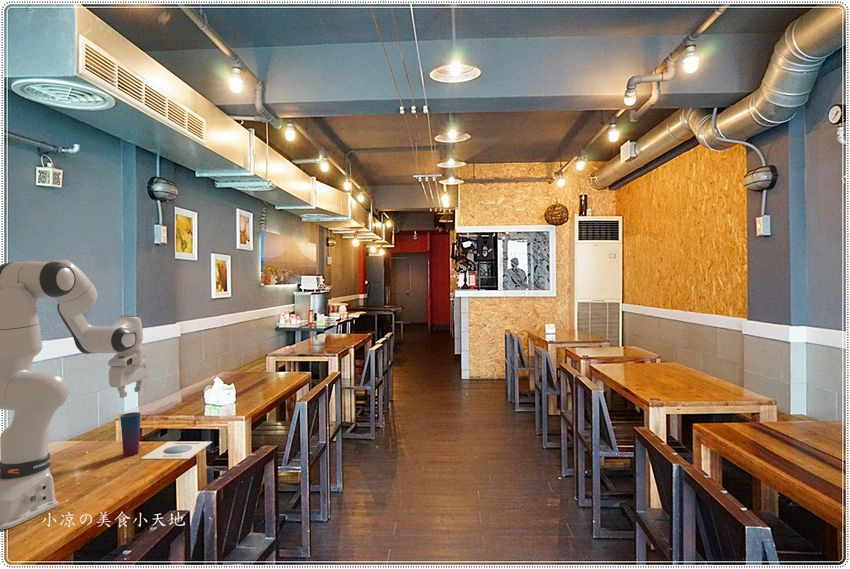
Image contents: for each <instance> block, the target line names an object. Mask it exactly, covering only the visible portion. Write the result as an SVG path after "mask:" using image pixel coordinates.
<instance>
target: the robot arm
mask: <svg viewBox="0 0 850 569" xmlns="http://www.w3.org/2000/svg"><path fill="white" fill-rule="evenodd" d="M46 298H47V299H48V298H54V299H55V301H56V302H57V305H56V309H57V313H58V315H59V317H60V318H61V319H62V321H63V324H65V326H66V328H67V330H68V331H69V333H70V334H71V336H72V338H73V341H74V344H75V346H76V348H77V350H79V352H80V353H82V354H85V355H91V354H115V355H114V356H113V357H112V358H110V359H109V360H108V362H107V363H108V364H107V365H108V367H109V368H108V369H109V370H108V383H109V386H110V388H117V391H118V393H119V398H120V399H124V398H126V397H127V396H128V395H127V393H128V391H126V390H125V389H126V386H127V385H130V384H132V383H136V384H135V387H134V393H139V392H141V391H142V387H143V386H142V385H143V383H144V379H146V378H149V375H150V369H149V362H148V360H147V357H146V356H145V355H144V347H143V340H144V332H143V324H142V319H141V318H140V317H139V316H136V315H120V316H118V317H117V321H116V322H115V323H113V324H112V325H110V326H106V325H105V326H104V325H103V326H97V325H93V324H89V323H88V322H87V320H86V318H85V316H84V315H83V314H85V313H86V312H87V311H89V310H91V309H92V307H94V306H95V304H96V302H97V300H98V291H97V288H96V287H95V285H94V284H93V283H92V282H91V280H90V279H89V278H88V276H87V275H86V274H85V273H84V272H83V271H82V270H81V269H80V268H79V267H78V266H77V265H76V264H75V263H73V262H72V261H70V260H68V259H56V260H52V261H37V260H25V261H18V262H17V261H11V262H7V263H3V264H0V410H6V411H13V414H14V415H13V418H12V421H11V423H10V425H9V426H8V427H6V428H5V429H4V430H3V431H2V433H0V531H1V530H6V529H7V530H8V529H11V528H14V527H15V526H18V525H20V524H22V523H24V522H27V521H28V520H31V519H33V518H35V517H37V516H39V515H41V514H43V513H46V512H47V511H49V510H53V509H54V508H56V507H58V506H59V501H58V500H57V499H56V494H55V486H54V478H53V477H54V476H53V475H52V474H51V472H50V466H51V461H52V460H51V453H50V452H49V437H50V436H49V434H50V433H49V432H50V425H51V422H52V420H53V416H54V414H55V413H56V412H57V410H58V409H59V408H60V407H62V406H63V405H64V403H66V401H67V399H68V397H69V394H70V386H69V383H68V382H67V380H66V379H65V378H64V377H63V376H59V375H56V374H53V373H49V372H33V371H32V365H33V361H34V358H35V357H36V356H38V355H39V354H40V353H41V351H42V349H43V342H42V332H41V326H40V325H41V324H40V318H39V313H38V309H37V306H36V304H37V301H38V299H46Z"/></svg>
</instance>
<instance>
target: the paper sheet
mask: <svg viewBox="0 0 850 569" xmlns="http://www.w3.org/2000/svg"><path fill="white" fill-rule="evenodd" d="M212 443H213V441H166V442H165V443H164V444H162V445H160V446H159V447H156V448H155V449H154V450H152V451H150V452H149V453H147V454H145V455H143V456H142V457H140V460H190V459H191V458H193V457H194V456H195V455H197V454H198V453H200V452H201V451H202V450H203V449H205V448H207V447H208V446H209V445H211V444H212Z"/></svg>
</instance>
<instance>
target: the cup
mask: <svg viewBox="0 0 850 569" xmlns="http://www.w3.org/2000/svg"><path fill="white" fill-rule="evenodd" d="M119 415H120V416H119V418H120V419H119V420H120V429H121V430H120V431H121V441H122V443H121V444H122V455H123V456H124V457H132V456H136V455H138V454H139V449H140V436H141V435H140V431H141V419H142V418H141V417H142V413H141V412H139V411H135V412H134V411H133V412H125V413H122V414H119Z"/></svg>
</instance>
